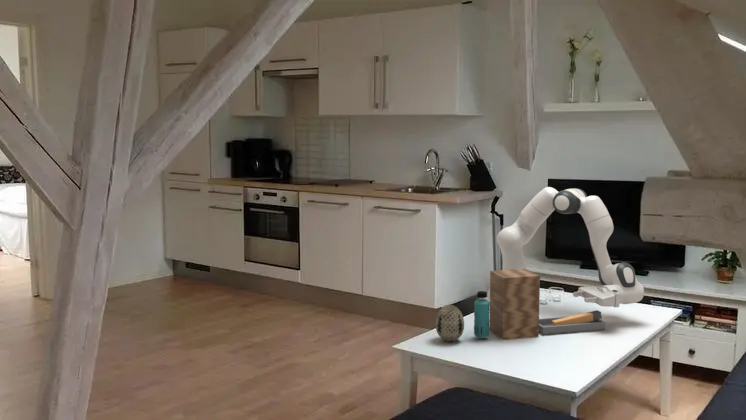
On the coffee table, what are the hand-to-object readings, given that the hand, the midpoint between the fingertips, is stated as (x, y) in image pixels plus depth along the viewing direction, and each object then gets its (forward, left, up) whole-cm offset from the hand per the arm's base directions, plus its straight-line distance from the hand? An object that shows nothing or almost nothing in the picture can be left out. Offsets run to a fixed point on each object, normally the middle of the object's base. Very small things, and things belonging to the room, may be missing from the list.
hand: (579, 297), depth 304 cm
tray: (-3, -5, -13) cm, 15 cm away
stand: (-16, -26, -13) cm, 33 cm away
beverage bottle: (-22, -41, -14) cm, 48 cm away
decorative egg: (-30, -52, -14) cm, 61 cm away
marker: (0, -1, -11) cm, 11 cm away
